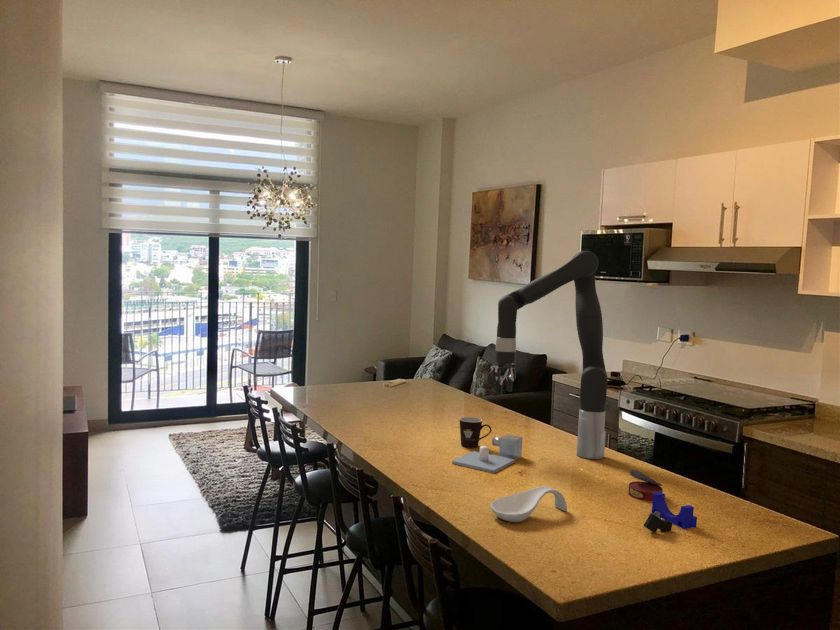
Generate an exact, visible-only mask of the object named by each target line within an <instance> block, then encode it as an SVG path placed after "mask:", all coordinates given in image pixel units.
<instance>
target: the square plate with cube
mask: <svg viewBox="0 0 840 630" xmlns="http://www.w3.org/2000/svg"><path fill="white" fill-rule="evenodd" d="M489 452H490V447H489V446H485V445H481V446H479V451H476V450H473V451H470V452H468V453H467V454H464V455H462V456H459V457H456V459H453V460H452V461H451V464H453V465H457V466H459V467H465V468H470V469H474V470H479V471H483V472H486V473H487V472H488V473H492V474H495V473H498V472H499V471H501V470H503V469H504V468H507V467H509V466H510V465H512V464H515V463H516V460H515V459H510V458H506V457H501V456H499V455H495V454H492V453H491V454H490V453H489Z"/></svg>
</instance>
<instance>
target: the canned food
mask: <svg viewBox="0 0 840 630" xmlns="http://www.w3.org/2000/svg"><path fill="white" fill-rule="evenodd" d="M629 475H630V476H631V477H632V478H635V479H637V480H639V481H631V482H629V483H628V493H627V494H628V496H629V497H631V498H633V499H635V500H638V501H643V502H652V500H653V493H659V492H662V493H663V490H664V489H663V487H662V486H663V485H662V484H661V483H659V482H658V481H656V480H655V479H653V478H651V477H650V476H648V475H646V474H645V473H643V472H641V471H639V470H637V469H631V470H629Z"/></svg>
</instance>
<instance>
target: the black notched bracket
mask: <svg viewBox="0 0 840 630" xmlns="http://www.w3.org/2000/svg"><path fill="white" fill-rule="evenodd" d="M660 514H661V513H659V512H658V511H655V512H654V514H653V513H652V512H650V513H649V514H648V517H647V519H646V521H645V522H644V523H643V525H642V526H643V527H645V528H646V529H647V530H649V531H650V532H652V533H654V534H657V532H658V530H660V531H661V532H664V533H670V532H672V530H673V525H674V524H673V523H672V522H671V521H669V520H664V519H662V518H661V517H659V516H660Z"/></svg>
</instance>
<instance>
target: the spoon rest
mask: <svg viewBox="0 0 840 630" xmlns="http://www.w3.org/2000/svg"><path fill="white" fill-rule="evenodd" d="M549 493H550V494H552V495H554V507H555V508H557V509H558V510H561V511H563V512H566V511H567V510H568V507H567V506H568V505H567V501H566V498H565V497H564V495H563V494H562V493H561V492H560V491H559V490H556V489H555V488H553V487H551V486H546V485H543V486H542V485H540V486H537V487H534V488H530V489H527V490H524V491H522V492H518V493H513V494H509V495H507V496H502V497H499V498H496V499H494V500H493V501H491V502H490V505H489V506H490V509H491V511H492V513H493V514H494V515H495V516H496V517H498V518H499V519H500V520H503V521H506V522H510V523H520V522H524V521H525V520H526V519H528V518H529V517H530V516H531V515H532V514H533V512H534V511H535V509H537V507H538V505H539V503H540V502H541V500H542V499H543V497H544V496H546V495H547V494H549ZM567 512H568V511H567Z"/></svg>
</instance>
